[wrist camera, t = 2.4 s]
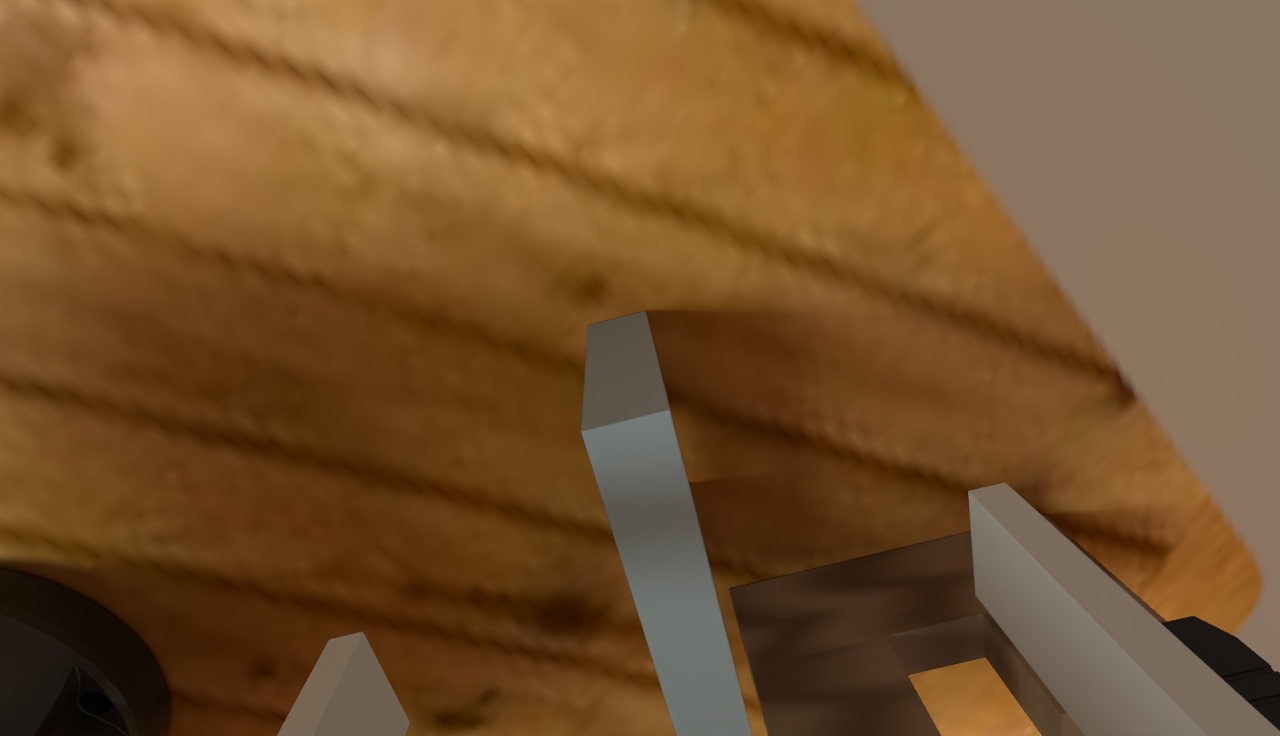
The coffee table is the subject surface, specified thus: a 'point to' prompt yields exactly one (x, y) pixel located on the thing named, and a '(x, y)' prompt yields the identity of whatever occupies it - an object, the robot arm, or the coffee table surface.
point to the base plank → (880, 642)
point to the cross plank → (658, 528)
